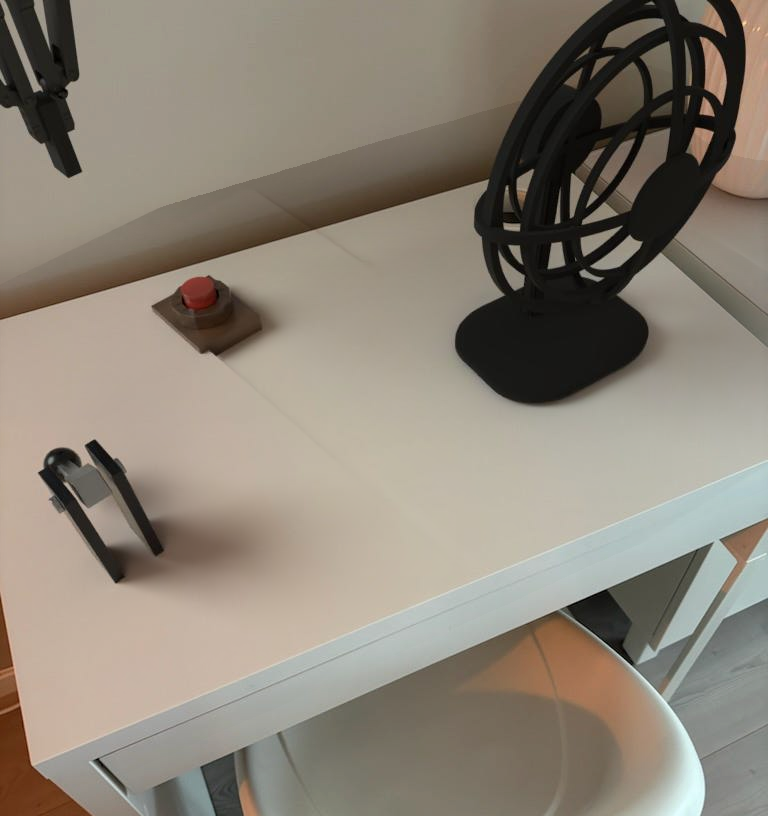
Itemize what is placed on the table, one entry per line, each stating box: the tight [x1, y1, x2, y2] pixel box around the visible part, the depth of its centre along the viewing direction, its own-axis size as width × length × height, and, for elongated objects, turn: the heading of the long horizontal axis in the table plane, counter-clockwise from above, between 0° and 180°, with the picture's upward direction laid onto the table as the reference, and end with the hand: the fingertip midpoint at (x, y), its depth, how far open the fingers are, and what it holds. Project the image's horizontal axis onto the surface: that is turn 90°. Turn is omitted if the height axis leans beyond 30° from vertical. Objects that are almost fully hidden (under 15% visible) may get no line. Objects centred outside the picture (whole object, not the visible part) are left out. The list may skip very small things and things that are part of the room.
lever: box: [42, 446, 113, 509], centre depth 63 cm, size 13×3×3 cm
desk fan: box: [454, 0, 747, 404], centre depth 67 cm, size 27×18×35 cm, turn 122°
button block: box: [150, 274, 263, 357], centre depth 85 cm, size 10×8×4 cm
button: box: [181, 276, 217, 310], centre depth 83 cm, size 4×4×2 cm
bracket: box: [37, 439, 165, 584], centre depth 63 cm, size 12×9×13 cm
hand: (68, 169), depth 70 cm, fingers closed
